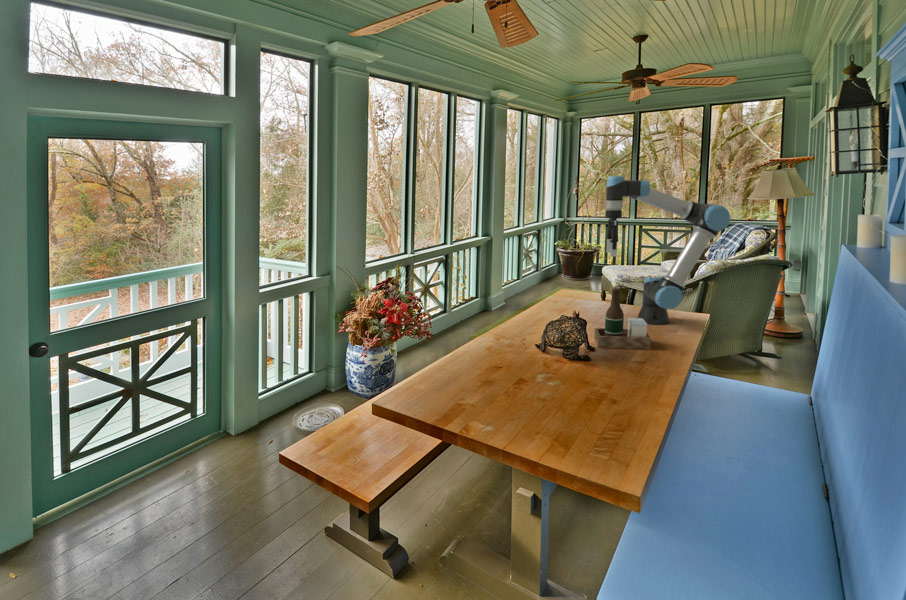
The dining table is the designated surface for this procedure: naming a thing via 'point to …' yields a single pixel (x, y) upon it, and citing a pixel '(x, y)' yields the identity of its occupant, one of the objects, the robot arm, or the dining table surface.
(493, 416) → the dining table surface
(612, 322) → the beer bottle
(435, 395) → the dining table surface
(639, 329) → the carton
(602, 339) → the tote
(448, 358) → the dining table surface
